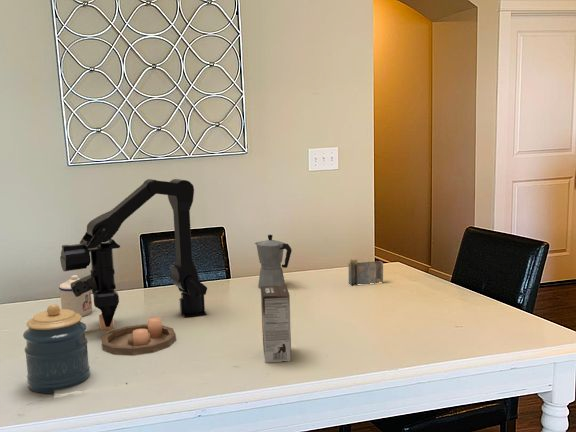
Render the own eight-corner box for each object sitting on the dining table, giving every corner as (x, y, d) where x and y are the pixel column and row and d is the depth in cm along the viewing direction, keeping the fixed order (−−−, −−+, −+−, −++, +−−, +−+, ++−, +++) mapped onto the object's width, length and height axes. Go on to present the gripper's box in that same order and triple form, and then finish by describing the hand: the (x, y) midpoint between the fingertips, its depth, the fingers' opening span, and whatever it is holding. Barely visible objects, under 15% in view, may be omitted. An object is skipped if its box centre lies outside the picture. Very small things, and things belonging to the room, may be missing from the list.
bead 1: (113, 328, 175) (112, 312, 174) (114, 332, 171) (113, 316, 171) (99, 329, 174) (98, 314, 173) (100, 333, 170) (99, 317, 169)
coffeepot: (248, 287, 214) (246, 235, 212) (266, 281, 221) (264, 230, 219) (283, 293, 205) (281, 239, 202) (300, 287, 212) (299, 234, 209)
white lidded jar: (89, 317, 185) (86, 278, 184) (57, 319, 184) (54, 280, 183) (97, 305, 197) (95, 269, 195) (67, 307, 196) (65, 270, 194)
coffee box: (262, 349, 155) (260, 285, 153) (288, 347, 156) (286, 284, 153) (264, 363, 146) (261, 295, 144) (292, 361, 147) (290, 294, 144)
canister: (90, 389, 134) (83, 309, 132) (24, 398, 131) (16, 316, 128) (90, 367, 147) (85, 293, 144) (31, 375, 143) (24, 299, 140)
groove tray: (169, 329, 172) (168, 320, 172) (180, 351, 155) (180, 341, 155) (100, 338, 166) (99, 329, 166) (104, 362, 149) (103, 351, 149)
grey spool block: (351, 287, 212) (350, 259, 210) (348, 285, 215) (348, 257, 213) (383, 285, 213) (383, 257, 212) (380, 283, 216) (380, 255, 215)
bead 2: (147, 345, 158) (146, 327, 157) (149, 349, 155) (148, 332, 154) (133, 347, 157) (132, 329, 156) (134, 351, 153) (133, 334, 153)
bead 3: (163, 337, 163) (162, 320, 163) (149, 339, 162) (148, 322, 162) (161, 333, 167) (160, 316, 166) (147, 334, 166) (146, 318, 165)
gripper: (70, 262, 176) (75, 316, 178) (71, 276, 158) (76, 336, 161) (112, 258, 180) (115, 311, 182) (117, 272, 162) (121, 330, 164)
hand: (106, 321), depth 172 cm, fingers open, 9 cm apart
